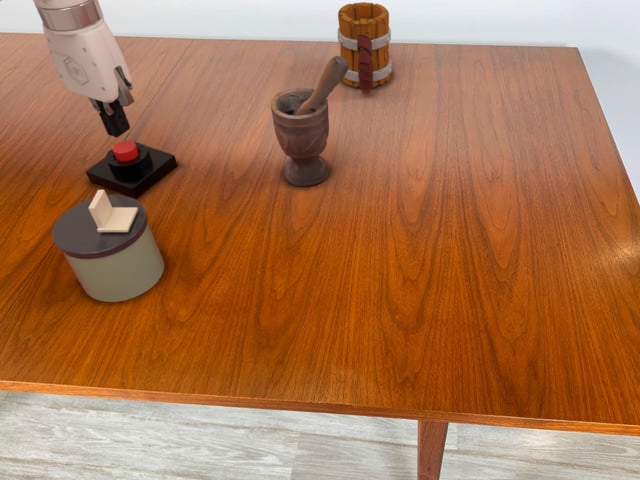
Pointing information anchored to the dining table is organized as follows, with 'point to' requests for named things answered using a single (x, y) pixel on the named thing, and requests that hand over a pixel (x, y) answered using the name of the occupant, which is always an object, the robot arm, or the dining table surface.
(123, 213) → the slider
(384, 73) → the mug
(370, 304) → the dining table surface
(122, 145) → the button
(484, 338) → the dining table surface
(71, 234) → the grey green round canister
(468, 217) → the dining table surface
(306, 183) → the mortar and pestle
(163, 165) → the button block
